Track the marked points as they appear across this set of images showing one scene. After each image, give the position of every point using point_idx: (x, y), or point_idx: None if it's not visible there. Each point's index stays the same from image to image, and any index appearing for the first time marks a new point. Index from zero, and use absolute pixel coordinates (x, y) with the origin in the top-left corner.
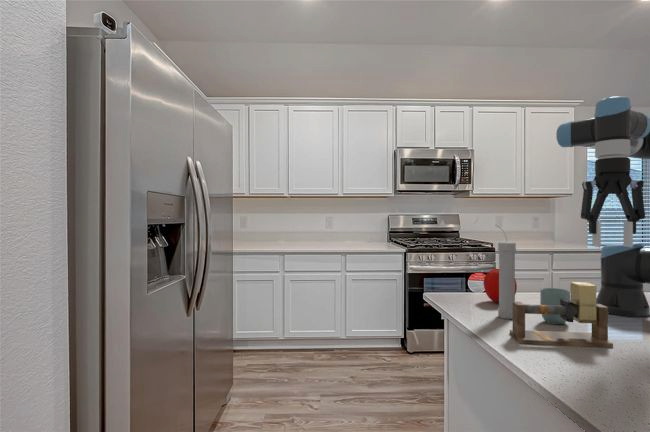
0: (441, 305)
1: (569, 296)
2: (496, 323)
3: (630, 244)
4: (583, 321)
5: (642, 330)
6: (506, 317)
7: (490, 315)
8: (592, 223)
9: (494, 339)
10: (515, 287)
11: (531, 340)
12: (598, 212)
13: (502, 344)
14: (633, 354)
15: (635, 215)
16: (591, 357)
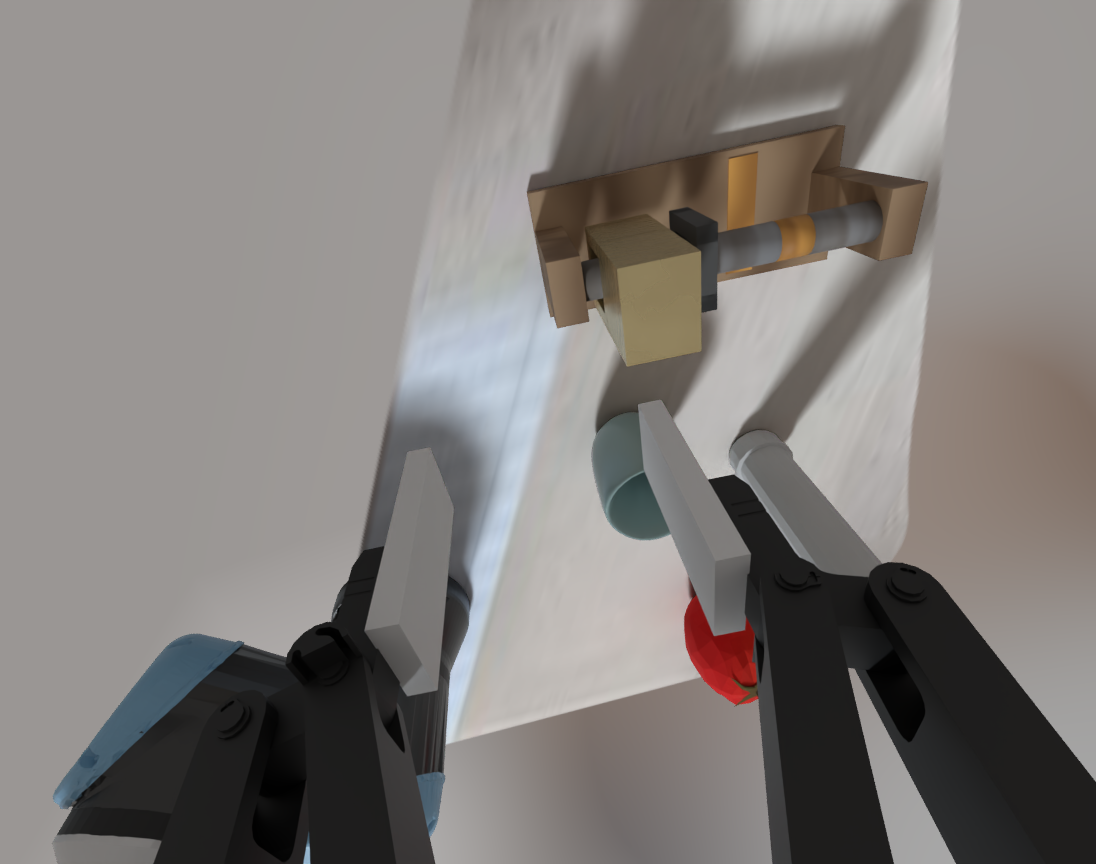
0: (905, 514)
1: (608, 481)
2: (815, 367)
3: (420, 462)
4: (633, 217)
5: (388, 435)
6: (764, 431)
7: (797, 453)
8: (782, 547)
9: (907, 153)
10: (697, 628)
11: (804, 134)
12: (794, 671)
13: (906, 90)
14: (481, 121)
15: (312, 719)
16: (640, 16)
